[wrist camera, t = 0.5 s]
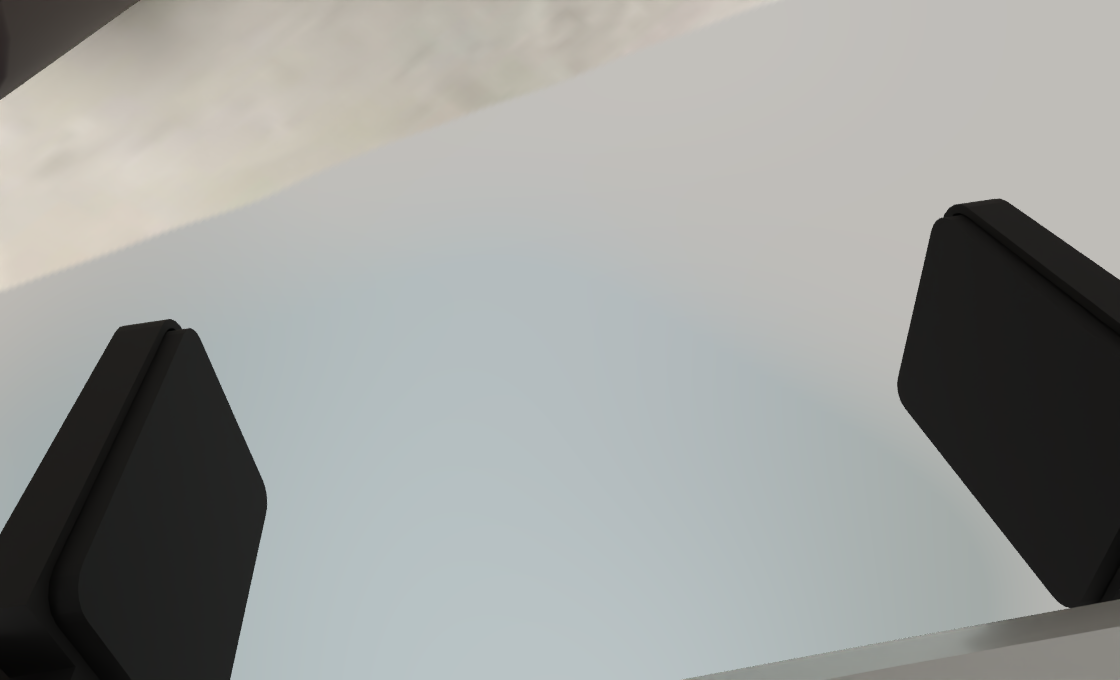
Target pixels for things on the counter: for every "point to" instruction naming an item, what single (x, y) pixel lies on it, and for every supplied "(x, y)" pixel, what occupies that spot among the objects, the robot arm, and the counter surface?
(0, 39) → the vinegar
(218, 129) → the counter surface
